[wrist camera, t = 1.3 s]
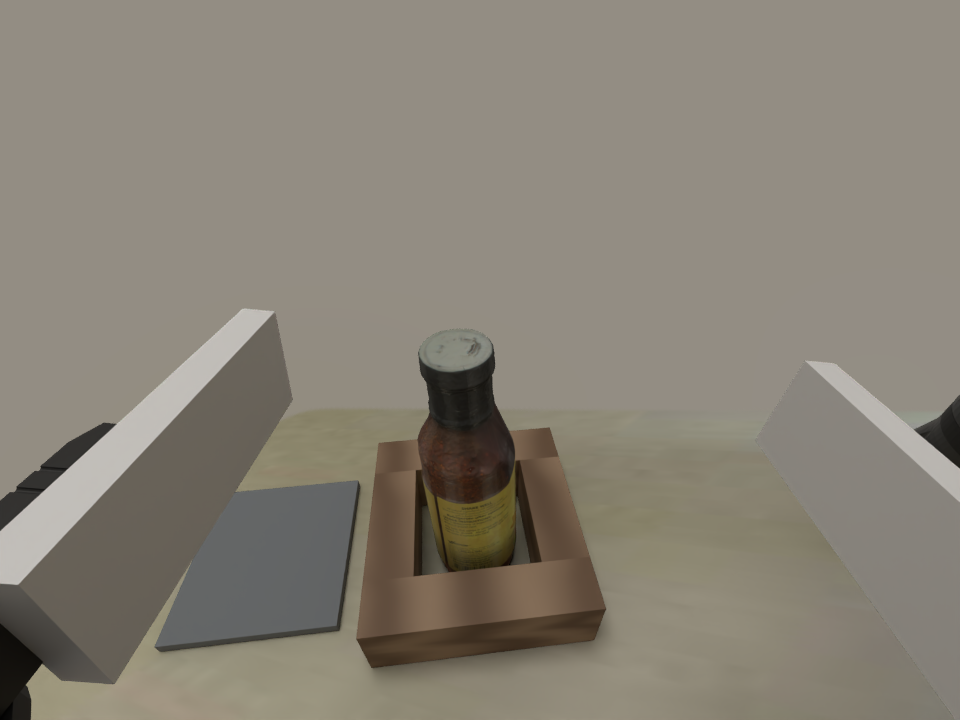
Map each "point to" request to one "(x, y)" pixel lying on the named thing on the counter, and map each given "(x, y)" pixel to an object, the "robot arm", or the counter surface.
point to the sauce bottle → (466, 453)
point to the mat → (267, 568)
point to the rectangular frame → (475, 593)
